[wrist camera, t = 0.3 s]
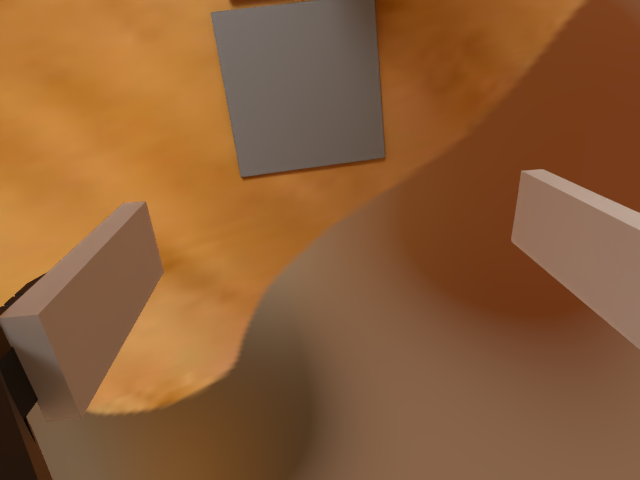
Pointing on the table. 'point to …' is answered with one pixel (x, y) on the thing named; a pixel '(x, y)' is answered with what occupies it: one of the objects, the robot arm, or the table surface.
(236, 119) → the rubber mat
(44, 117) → the table surface
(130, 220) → the robot arm
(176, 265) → the table surface
